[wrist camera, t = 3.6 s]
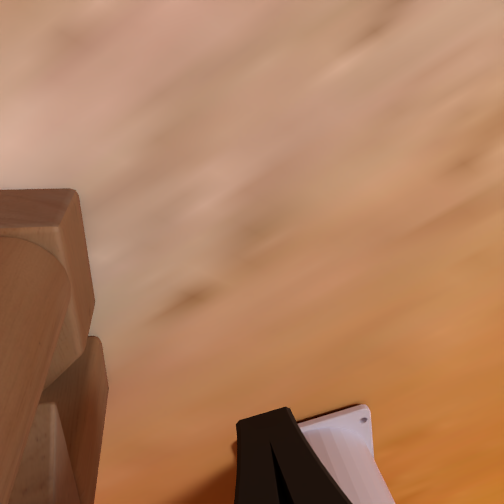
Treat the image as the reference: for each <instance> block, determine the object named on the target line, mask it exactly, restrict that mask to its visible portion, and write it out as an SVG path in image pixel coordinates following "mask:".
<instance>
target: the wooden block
mask: <svg viewBox="0 0 504 504" xmlns="http://www.w3.org/2000/svg"><path fill="white" fill-rule="evenodd" d="M94 305H95V298H94V291H93V285H92V278H91V272H90V265H89V259H88V252H87V246H86V239H85V233H84V226H83V220H82V213H81V207H80V200H79V195H78V194H77V192H76V190H73V189H23V190H0V504H94V498H95V490H96V483H97V475H98V467H99V459H100V452H101V444H102V436H103V428H104V421H105V413H106V405H107V397H108V390H109V388H108V381H107V375H106V368H105V362H104V355H103V349H102V343H101V341H100V339H99V338H98V337H95V336H89V337H88V333H89V329H90V324H91V319H92V315H93V310H94Z"/></svg>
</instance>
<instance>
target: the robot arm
mask: <svg viewBox="0 0 504 504" xmlns="http://www.w3.org/2000/svg"><path fill="white" fill-rule="evenodd" d="M236 430H237V478H236V489H235V500H234V504H395V502H394V500H393V498H392V496H391V494H390V492H389V490H388V488H387V485H386V483H385V481H384V479H383V477H382V475H381V473H380V471H379V469H378V467H377V465H376V463H375V461H374V452H373V439H372V425H371V412H370V410H369V408H368V406H367V405H363V404H362V405H358V406H354V407H351V408H348V409H344V410H341V411H338V412H334V413H331V414H328V415H325V416H321V417H318V418H315V419H311V420H308V421H305V422H301V423H298V424H297V422H296V420H295V418H294V416H293V414H292V412H291V409H290V408H287V407H283V408H279V409H276V410H273V411H269V412H266V413H262V414H259V415H256V416H252V417H249V418H246V419H242V420H239V421H238V423H237V424H236Z"/></svg>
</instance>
